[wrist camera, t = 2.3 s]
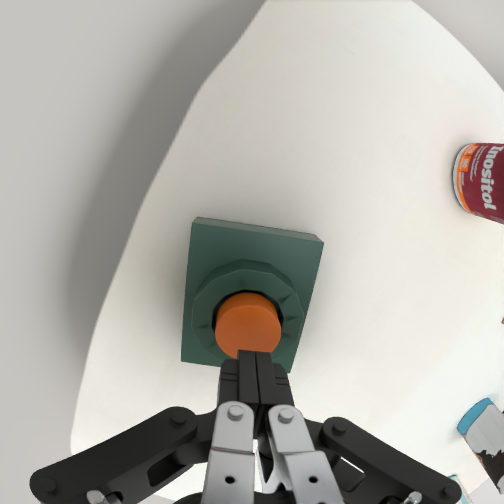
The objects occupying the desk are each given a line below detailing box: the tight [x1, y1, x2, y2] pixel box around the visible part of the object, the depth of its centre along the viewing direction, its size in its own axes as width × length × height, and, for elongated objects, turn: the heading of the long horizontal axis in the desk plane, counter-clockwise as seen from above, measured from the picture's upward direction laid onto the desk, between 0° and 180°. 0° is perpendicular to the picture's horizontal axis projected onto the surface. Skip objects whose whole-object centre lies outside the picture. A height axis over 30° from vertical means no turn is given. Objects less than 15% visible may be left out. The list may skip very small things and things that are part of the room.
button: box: [215, 292, 281, 359], centre depth 16 cm, size 4×4×2 cm
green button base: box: [181, 217, 324, 373], centre depth 19 cm, size 10×8×4 cm
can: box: [449, 476, 473, 504], centre depth 30 cm, size 7×7×12 cm
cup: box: [458, 398, 504, 494], centre depth 21 cm, size 7×7×15 cm
